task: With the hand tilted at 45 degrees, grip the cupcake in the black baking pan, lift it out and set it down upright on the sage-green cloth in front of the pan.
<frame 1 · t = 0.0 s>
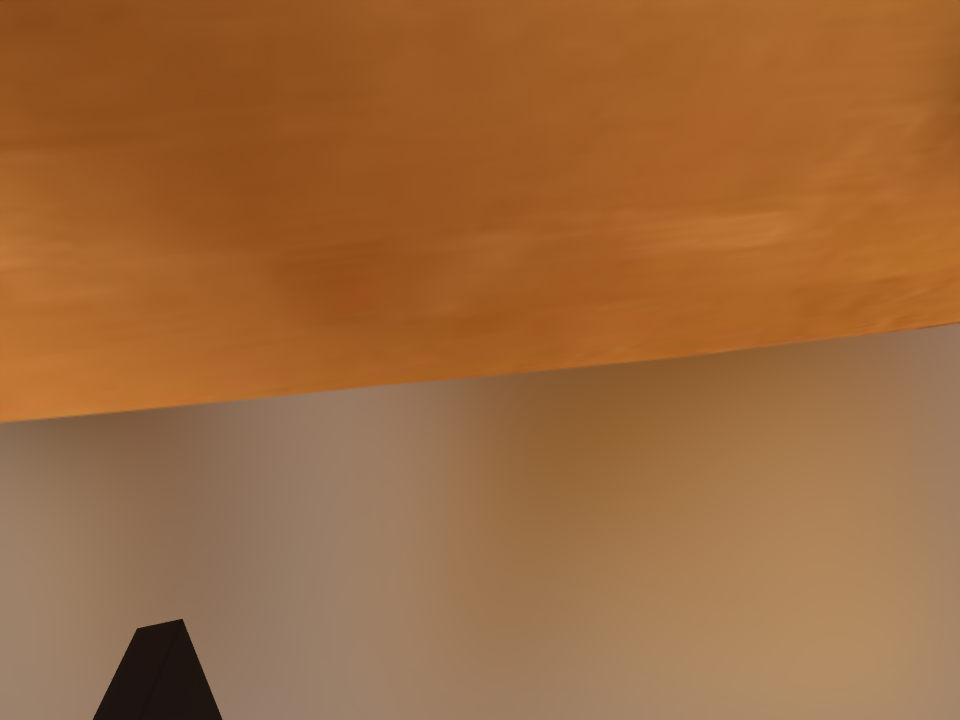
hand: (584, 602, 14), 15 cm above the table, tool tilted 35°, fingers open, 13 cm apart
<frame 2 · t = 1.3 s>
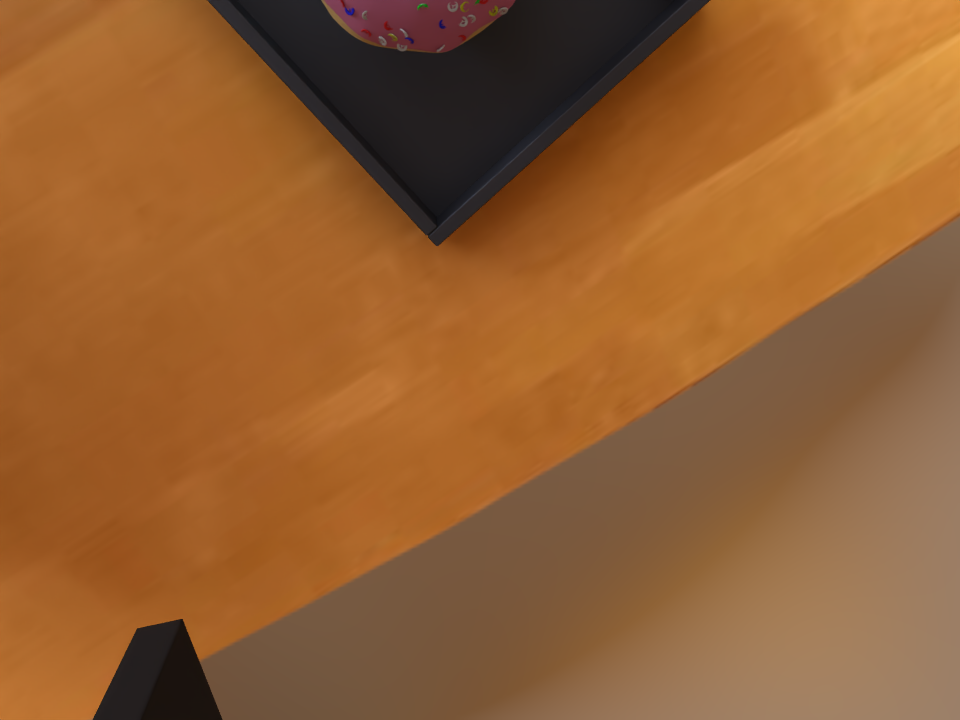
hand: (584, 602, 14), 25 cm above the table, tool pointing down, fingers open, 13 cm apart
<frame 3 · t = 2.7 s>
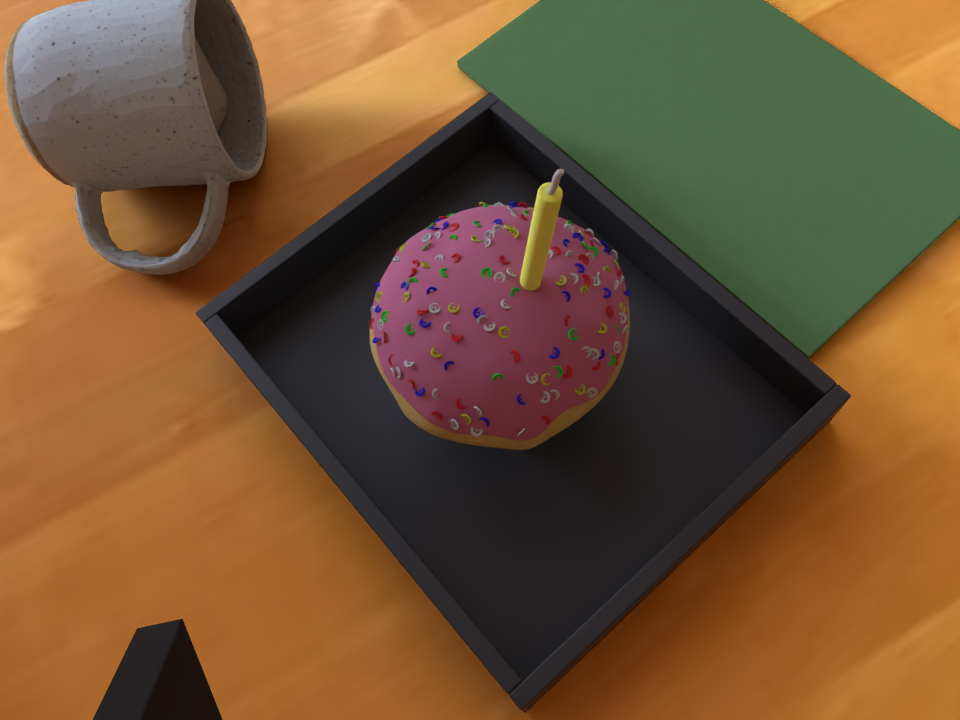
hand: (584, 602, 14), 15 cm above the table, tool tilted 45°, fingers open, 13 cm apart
cupcake: (507, 377, 32), resting on baking pan
ceramic mug: (186, 178, 38), on the table
baking pan: (507, 378, 32), on the table
green cloth: (715, 116, 36), on the table
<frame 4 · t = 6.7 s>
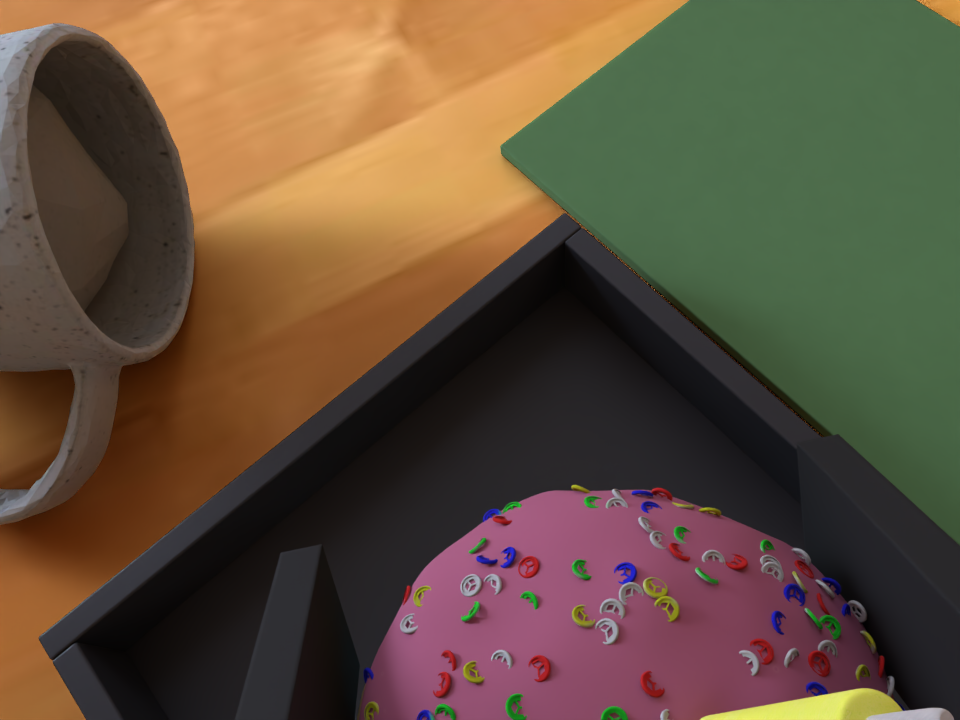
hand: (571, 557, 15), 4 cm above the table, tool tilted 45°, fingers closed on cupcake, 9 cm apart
ceramic mug: (64, 337, 23), on the table
green cloth: (933, 244, 22), on the table
when the fingers open (4 cm above the table, at t = 14.9 s): cupcake stays where it is, resting on green cloth.
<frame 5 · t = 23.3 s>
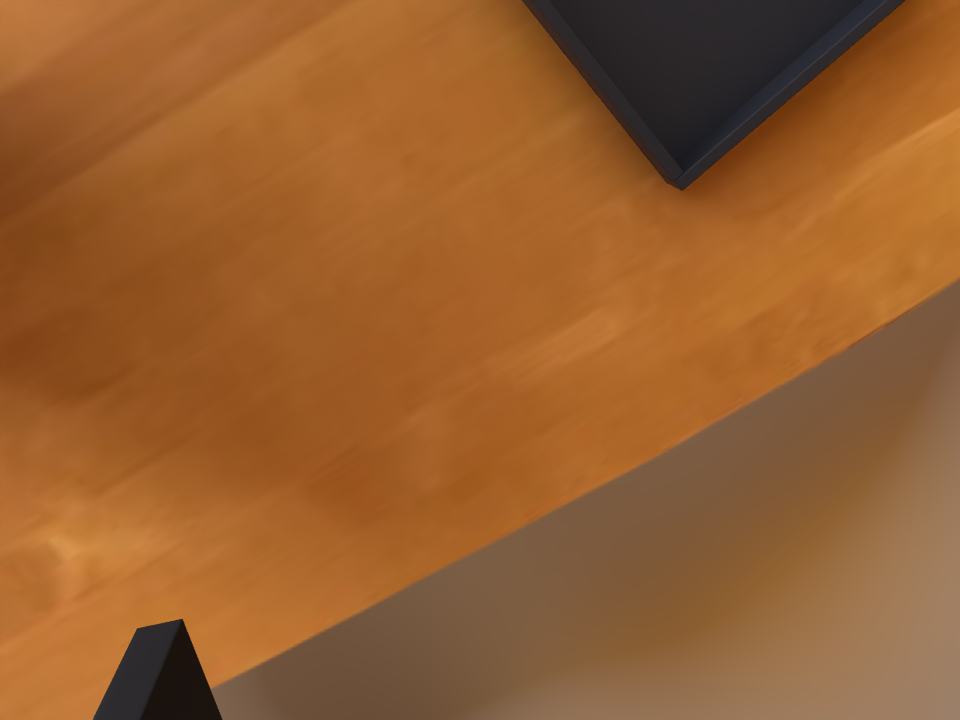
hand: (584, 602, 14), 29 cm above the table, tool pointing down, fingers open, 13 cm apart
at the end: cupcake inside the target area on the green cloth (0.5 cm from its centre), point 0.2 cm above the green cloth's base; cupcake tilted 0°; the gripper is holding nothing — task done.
